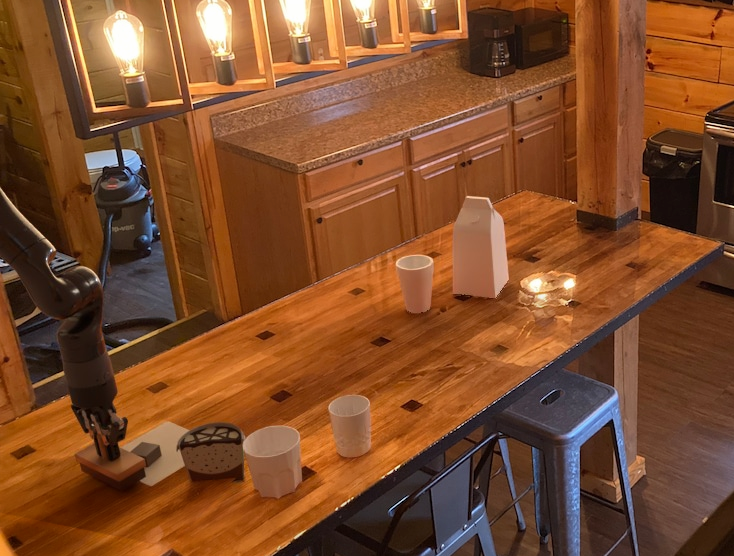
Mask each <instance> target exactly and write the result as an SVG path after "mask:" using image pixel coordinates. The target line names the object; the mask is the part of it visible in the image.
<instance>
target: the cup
mask: <svg viewBox="0 0 734 556" xmlns="http://www.w3.org/2000/svg"><path fill="white" fill-rule="evenodd" d="M245 438H246V439H245V440H244V441H243V445H242V446H243V452H244V458H245V460H246V463H247V466H248V469H249V473H250V477H251V481H252V484H253V489H254V490H256V491H258V492H259V495H260V498H261V499H262V498H275V499H278V500H279V499H280V498H281V497H284V496H286V495H289V494H291V493H296V489H297V487H298V486H299V484H301V483H302V482H303V475H302V474H303V471H302V469H303V468H302V451H301V435H300V432H299V431H298V430H297V429H296V428H294V427H292V426H287V425H271V426H266V427H262V428H260V429H257V430H255V431H254V432H252V433H250V434H249V435H247V437H245Z"/></svg>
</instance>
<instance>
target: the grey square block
mask: <svg viewBox="0 0 734 556" xmlns="http://www.w3.org/2000/svg"><path fill="white" fill-rule="evenodd" d="M130 452H131V453H133V454H135V455H137V456H140V457H142V458H144V459H145V463H146V466H145V467H149V466H150V465H151V464H153V463H154V462H155V461H156V460H157V459H158V458H159V457H161V456H162V454H161V450H160V445H157V444H151V443H146V442H141V443H140V444H139V445H138V446H136V447H135V448H134V449H133V450H132V451H130Z"/></svg>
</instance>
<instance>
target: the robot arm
mask: <svg viewBox="0 0 734 556" xmlns="http://www.w3.org/2000/svg"><path fill="white" fill-rule="evenodd" d="M56 256H57V249H56V248H55V246H54V245H53V244H52V243H51V242H50V241H49V240H48V239H47V238H46V237H45V236H44V235H43V234H42V233H41V232H40V231H39V230H38V229H37V228H36V227H35V226H34V225H33V224H32V223H31V222H30V221H29V220H28V219H27V218H26V217H25V216H24V215H23V214H22V213H21V212H20V211H19V209H18V208H17V207H16V206H15V205H14V204H13V203H12V201H11V200H10V199H9V197H8V196H7V195H6V193H5V192H4V191H3V189H2V187H0V258H1V259H2V260H3V261H4V262H5V263H6V264H7V265H8V266H10V267H11V268H12V269H13V270H14V271H15V273H16V274H17V276H18V277H19V279H20V281H21V283H22V284H23V286H24V288H25V290H26V291H27V293H28V295H29V297H30V298H31V300H32V302H33V303H34V305H35V307H36V308H37V309H38V310H39V311H40V312H41V313H43V314H44V315H45V316H47V317H49V318H51V319H54V320H65V321H63V323H62V324H61V325H60V326H59V327H58V328H57V331H56V340H57V345H58V347H59V351H60V355H61V361H62V369H63V375H64V379H65V382H66V386H67V390H68V392H69V398H70V402H71V405H70V408H71V410H72V412H73V414H74V415H75V417H76V420H77V421H78V423H79V425H80V427H81V429H82V431H83V432H84V434H89V437H90V439H91V440H93V442H94V443H95V447H96V451H97V455H99V456H102V455H101V451H100V447H99V443H98V439H97V434H100V435H101V436H102V439H103V442H104V447H105V451H106V455H107V459H108V460H109V461H114V460H115V459H117V458H119V457H120V455H121V454H120V449H119V447H120V446H119V442H121V441H124V440H125V439H126V434H127V429H128V425H129V420H128V417H126V416H123V417H120V416H119V415H118V414H117V409H116V406H115V404H114V400H115V398H117V395H118V392H119V390H118V386H117V381H116V378H115V373H114V369H113V364H112V360H111V358H110V357H111V356H110V355H109V352H108V349H107V346H106V341H105V338H104V333H103V329H102V325H103V316H104V315H103V314H104V288H103V284H102V282H101V280H100V278H99V276H98V275H97V274H96V273H95V272H94V271H93V270H92V269H91V268H89V267H86V266H83V265H74V266H72V267H68V268H67V269H65V270H64V271H62V272H60V273H58V274H57V275H54V273H53V272H52V270H51V268H50V266H49V265H50V264H51V263H52V262H53V261H54V259H55V258H56ZM109 432H110V436H109V437H108V435H107V434H108V433H109ZM94 443H93V444H94Z"/></svg>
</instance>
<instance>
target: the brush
mask: <svg viewBox="0 0 734 556" xmlns="http://www.w3.org/2000/svg"><path fill="white" fill-rule="evenodd" d="M107 435H108V437H109V436H110V432H109V433H108V434H107ZM97 439H98V443H99V447H100V451H101V455H102V456H99V455H97V451H96V447H95V443H92V444H90V445H88V446H87V447H85V448H83V449H81V450H78V451H77V452H75V453H74V457H75V461H76V462H78V463H79V466H80V470H81V472H82V473H84V474H87V475H88V476H91V477H93V478H95V479H97V480H98V481H101V482H103V483H105V484H107V485H108V486H111V487H113V488H114V489H117V490H119V491H121V492H124V491H126V490H127V489H128V488H130V487H132V486H133V485H135V484H137V483H139V482H140V480H142V479H143V478H145V477H146V474H145V470H144V467H145V466H146V463H145V459H144V458H142V457H140V456H137V455H135V454H133V453H131V452H129V451H127V450H124V449H122V448H120V447H121V446H119V449H120V454H121V455H120V457H119V458H117V459H115V460H114V461H109V460H108V459H107V455H106V451H105V447H104V442H103V439H102V436H101V435H100V434H97Z"/></svg>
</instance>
